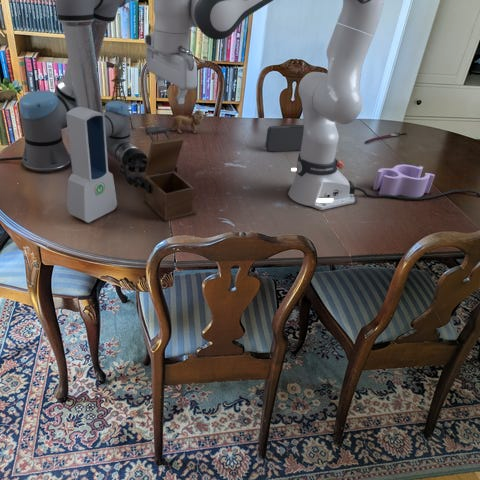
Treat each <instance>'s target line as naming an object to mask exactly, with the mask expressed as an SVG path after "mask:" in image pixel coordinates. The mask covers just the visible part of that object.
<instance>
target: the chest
mask: <svg viewBox="0 0 480 480" xmlns="http://www.w3.org/2000/svg"><path fill="white" fill-rule="evenodd" d="M178 174H179V173H178V172H177V173H175V172H174V171H173V172H168V173H163V174H155V175H150V176H145V178H144V179H145V180H146V181H147V182H149V183H150V184H151V193H148V192H147V191H146V190H145V203H146V204H148V206H149V207H151V209H152V210H153V211H154V212H155V213H156V214H157V215H158V216H160V218H161V219H162V220H163V221H164V222H167V221H170V220H175V219H178V218H182V217H186V216H190V215H194V211H195V210H194V209H195V208H194V207H195V187H194V186H192V185H191V184H190V183H189V182H187V181H186V180H185V179H184V178H183V177H182V176H180V175H178Z"/></svg>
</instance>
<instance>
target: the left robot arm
mask: <svg viewBox="0 0 480 480" xmlns="http://www.w3.org/2000/svg"><path fill="white" fill-rule="evenodd" d="M128 2H129V0H55V9H56V16H57V21H58V22H59V23H60V24H61V25H62V28H63V35H64V39H65V45H66V46H65V47H66V51H67V62H66V67H65V69H64V74H63V77H61V78H59V79H58V80H57V83H56V85H55V90H54V91H51V90H44V89H43V90H41V89H40V90H34V91H30V92H27V93H25V94H23V95H22V96H21V97H20V99H19V103H18V105H19V115H20V120H21V125H22V132H23V137H24V148H23V153H22V156H14V157H1V158H0V162H6V161H20V160H21V161H22V166H23V168H24V169H25V170H27V171H29V172H33V173H39V174H46V173H56V172H61V171H63V170H66V169H67V168H69V167H70V166H71V165H72V163H71V154H70V152H69V151H68V150H67V149H68V148H67V147H66V145H65V143H64V140H63V132H62V130H63V129H66V128H68V127H67V118H66V113H67V112H68V111H70V110H71V109H73V108H77V107H84V108H88V109H91V110H94V111H97V112H100V113H103V114H104V115H105V130H106V145H107V154H108V155H109V156H111V157H112V158H113V159H115V160H116V161H117V162H119V163H120V173H121V174H122V175H123V176H124V178H125V181H126V184H127V185H128V186H131V185H132V184H134V185H133V186H134V187H135V188H137V187H139V188H142V189H143V190H144V191H145V192H146V191H147V192H148V193H151V184H150V183H149V182H147V181H146V178H144V177H143V176H141V175H140V173H141V174H143V173H145V170H146V165H147V161H148V156H147V155H146V154H145V152H143V151H142V150H141V149H139V148H138V147H137V146H136V145H134V144H133V143H132V142H131V123H130V116H131V114H130V115H129V112H130V106H129V105H128V102H127V103H125V101H123V100H122V101H120V100H117V101H116V100H113V101H112V100H110V101H108V102H106V104H105V108H103V102H102V96H101V95H102V94H101V87H100V79H99V72H98V65H97V64H98V60H99V57H100V53H101V51H102V46H103V43H104V40H105V35H106V33H107V29H108V26H109V24H110V23H113V22H115V20H116V17H117V14H118V11H119V8H123V7H124V6H125V5H126V4H127V3H128ZM103 109H104V110H103ZM170 172H173V171H170ZM174 172H175V173H177V174H178V175H179V173H178V166H176V168H175V171H174ZM131 173H133V176H132V174H131ZM165 173H168V172H165ZM160 174H163V173H160ZM179 176H180V175H179Z"/></svg>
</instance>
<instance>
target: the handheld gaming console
mask: <svg viewBox="0 0 480 480" xmlns="http://www.w3.org/2000/svg"><path fill="white" fill-rule="evenodd" d="M303 130H304V125H303V124H292V125H291V124H290V125H289V124H286V125H285V124H284V125H283V124H281V125H270V126H268V127H267V130H266V139H265V145H264V146H265V150H267V151H268V152H289V151H290V152H292V151H294V152H295V151H301V145H302V139H303Z"/></svg>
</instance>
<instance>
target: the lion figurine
mask: <svg viewBox="0 0 480 480" xmlns="http://www.w3.org/2000/svg"><path fill="white" fill-rule="evenodd" d="M203 120H204V111H202V110H200V109H197V110H195V111H194V112H193V113H192V114H190V115H189V116H183V115H176V116H175V117H174V118H173V119H172V123H171V127H170V128H169V130H168V131H169V132H171V131H176V130H177V132H178V133H179V134H182V133H183V132H182V130H180V128H181V126H182V125H183V126H186V127H189V126H190V132H192V133H193V134H196V133H197V130H196V127H197V126H200V124H201V123H202V122H203ZM176 126H177V127H176ZM175 127H176V128H175Z"/></svg>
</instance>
